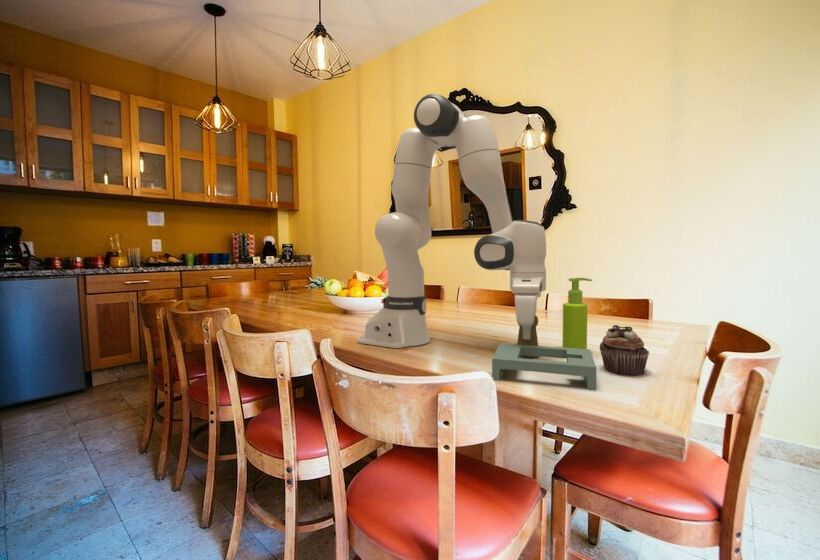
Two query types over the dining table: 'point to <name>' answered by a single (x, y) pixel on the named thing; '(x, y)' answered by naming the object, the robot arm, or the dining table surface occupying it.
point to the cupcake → (623, 352)
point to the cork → (531, 341)
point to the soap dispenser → (575, 318)
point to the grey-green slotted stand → (545, 361)
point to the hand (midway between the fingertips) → (527, 336)
